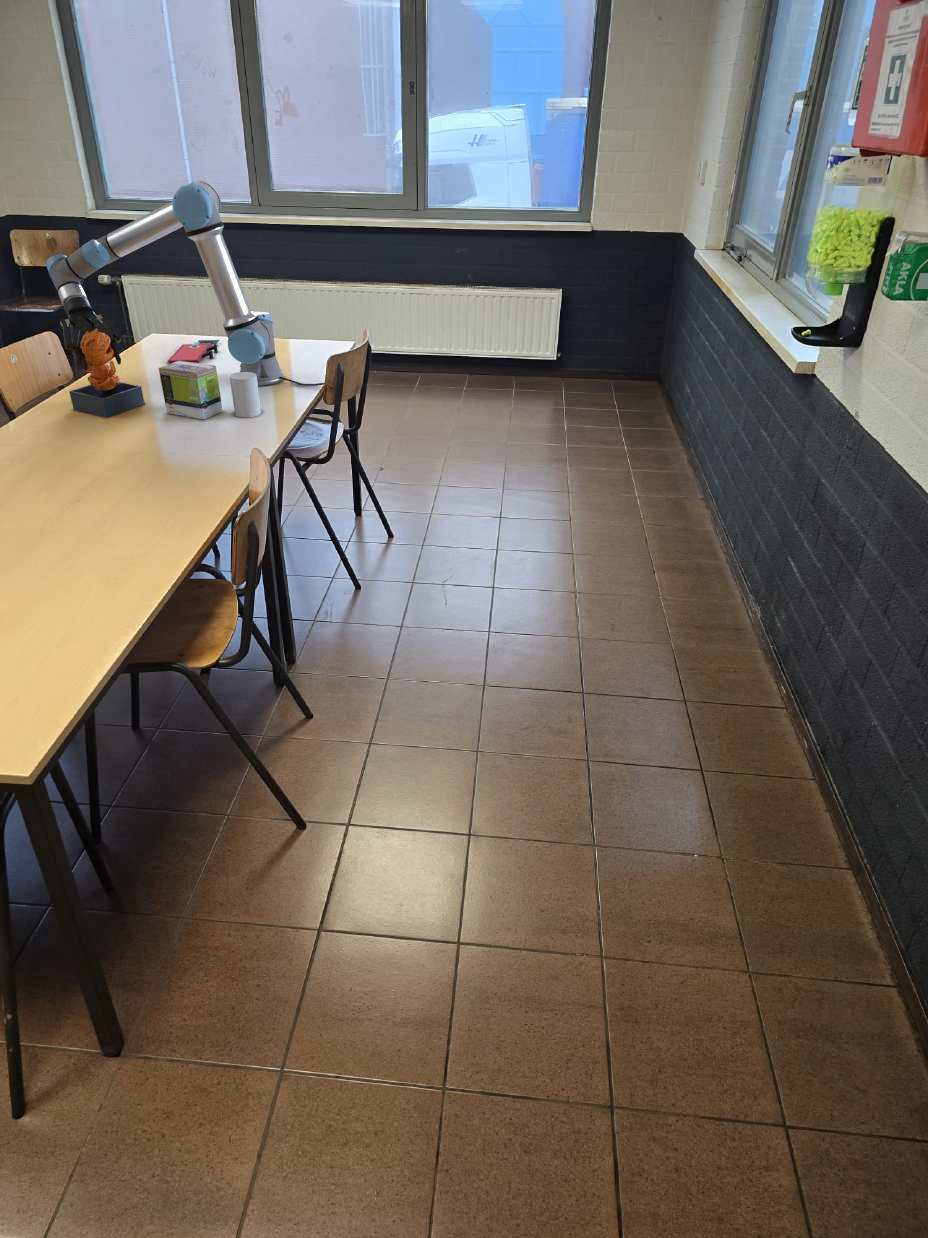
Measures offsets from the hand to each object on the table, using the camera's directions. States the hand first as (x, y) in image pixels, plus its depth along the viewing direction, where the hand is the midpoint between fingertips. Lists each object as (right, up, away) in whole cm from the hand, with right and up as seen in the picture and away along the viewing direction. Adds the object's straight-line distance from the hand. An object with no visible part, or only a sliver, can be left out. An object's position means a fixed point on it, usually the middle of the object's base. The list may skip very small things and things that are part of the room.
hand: (103, 364), depth 261 cm
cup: (+44, -14, +6) cm, 46 cm away
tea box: (+27, -14, +6) cm, 31 cm away
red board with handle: (+9, +24, +66) cm, 70 cm away
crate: (-2, -11, +10) cm, 15 cm away
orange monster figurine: (-2, -6, +6) cm, 9 cm away
